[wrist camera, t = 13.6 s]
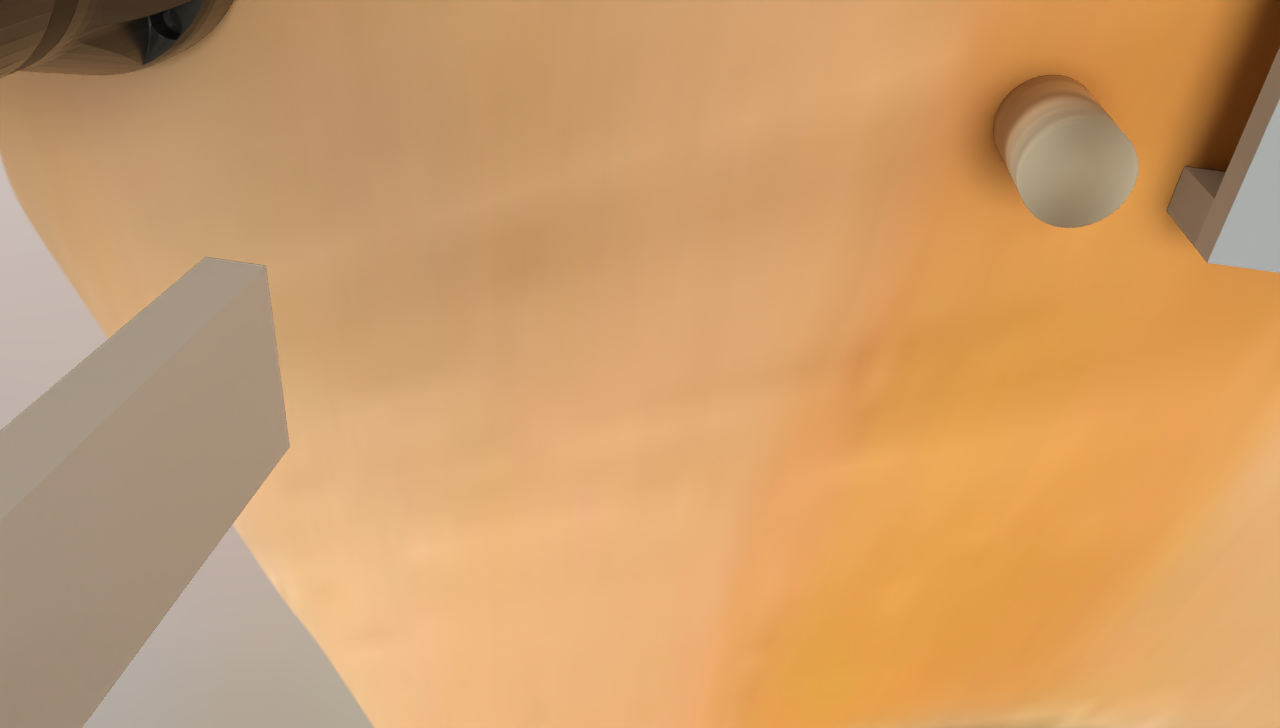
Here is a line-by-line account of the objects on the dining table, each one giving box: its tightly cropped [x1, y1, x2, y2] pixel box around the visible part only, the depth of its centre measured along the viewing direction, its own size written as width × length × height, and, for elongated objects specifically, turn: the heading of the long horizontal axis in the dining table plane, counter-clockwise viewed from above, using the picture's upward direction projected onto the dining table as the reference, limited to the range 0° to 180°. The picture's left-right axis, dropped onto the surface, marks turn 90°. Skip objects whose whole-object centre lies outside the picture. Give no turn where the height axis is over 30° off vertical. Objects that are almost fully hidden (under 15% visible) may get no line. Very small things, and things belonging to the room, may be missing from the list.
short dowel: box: [993, 75, 1138, 228], centre depth 38 cm, size 4×4×6 cm
